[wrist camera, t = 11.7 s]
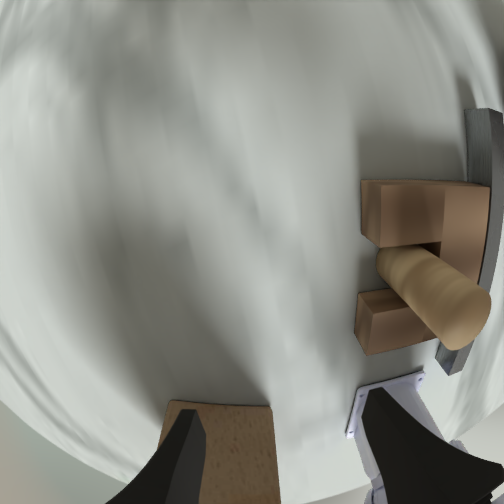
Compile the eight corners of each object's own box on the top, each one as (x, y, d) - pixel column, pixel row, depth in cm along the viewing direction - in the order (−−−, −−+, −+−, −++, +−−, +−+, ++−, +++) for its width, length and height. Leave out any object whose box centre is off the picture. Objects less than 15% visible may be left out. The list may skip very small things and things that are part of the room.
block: (447, 312, 21) (464, 328, 18) (354, 332, 21) (366, 355, 18) (465, 181, 17) (489, 187, 14) (361, 179, 17) (380, 185, 14)
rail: (448, 353, 23) (461, 370, 20) (435, 358, 23) (448, 375, 20) (478, 113, 15) (502, 113, 12) (464, 109, 15) (488, 108, 12)
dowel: (412, 278, 20) (479, 341, 11) (373, 283, 20) (435, 357, 11) (417, 234, 18) (498, 284, 10) (377, 237, 18) (454, 296, 10)
